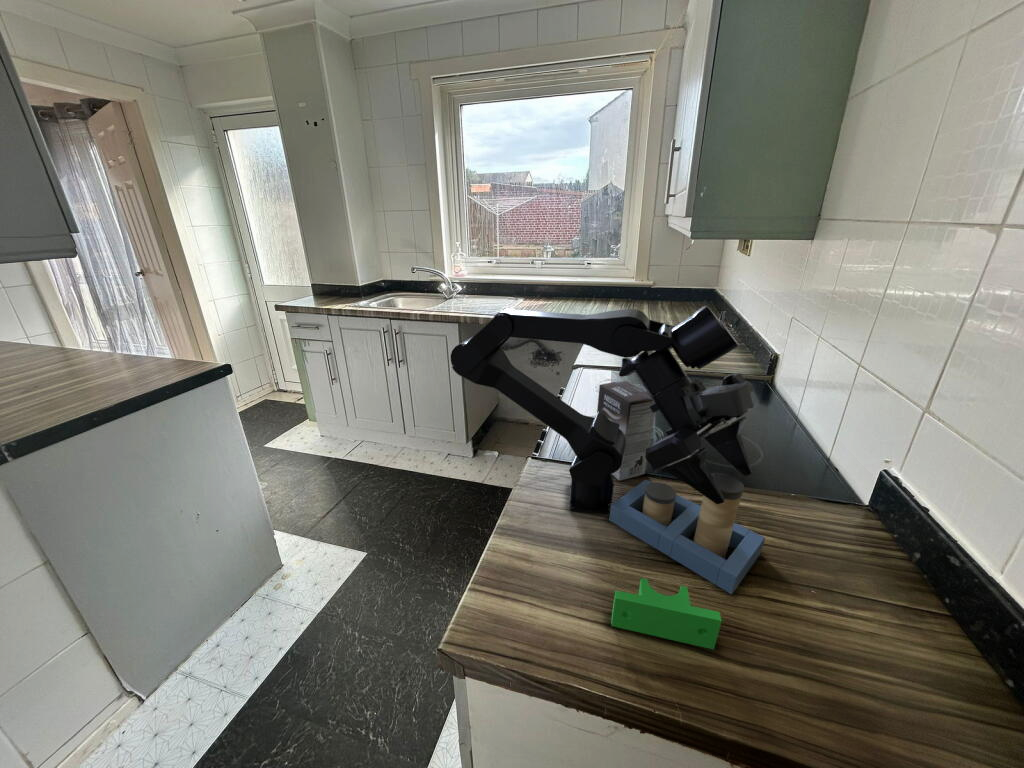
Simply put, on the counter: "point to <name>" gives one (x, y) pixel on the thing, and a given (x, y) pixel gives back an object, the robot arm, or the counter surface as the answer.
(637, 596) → the pipe clamp
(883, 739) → the counter surface
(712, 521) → the wooden peg
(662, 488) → the short wooden cylinder
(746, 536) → the socket block
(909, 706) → the counter surface
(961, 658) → the counter surface
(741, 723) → the counter surface
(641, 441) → the coffee box
